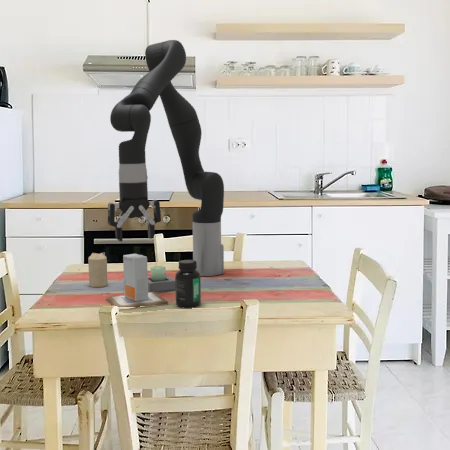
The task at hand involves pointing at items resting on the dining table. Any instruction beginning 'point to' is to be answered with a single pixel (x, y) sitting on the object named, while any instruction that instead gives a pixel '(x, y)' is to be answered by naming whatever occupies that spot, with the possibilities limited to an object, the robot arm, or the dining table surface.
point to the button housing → (161, 285)
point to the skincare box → (135, 277)
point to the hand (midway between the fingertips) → (135, 239)
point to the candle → (97, 270)
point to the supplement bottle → (188, 284)
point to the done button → (158, 273)
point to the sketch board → (126, 302)
